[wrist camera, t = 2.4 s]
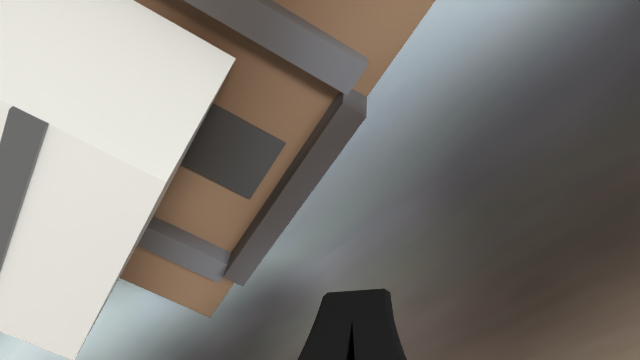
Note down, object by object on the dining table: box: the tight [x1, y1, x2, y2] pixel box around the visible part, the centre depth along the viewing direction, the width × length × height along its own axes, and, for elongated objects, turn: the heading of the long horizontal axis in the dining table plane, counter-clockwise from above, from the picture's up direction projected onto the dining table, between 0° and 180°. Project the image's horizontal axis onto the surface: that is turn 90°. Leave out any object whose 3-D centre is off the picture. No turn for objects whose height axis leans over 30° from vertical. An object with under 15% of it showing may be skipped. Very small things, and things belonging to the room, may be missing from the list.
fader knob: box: [0, 0, 236, 360], centre depth 11 cm, size 4×5×5 cm
